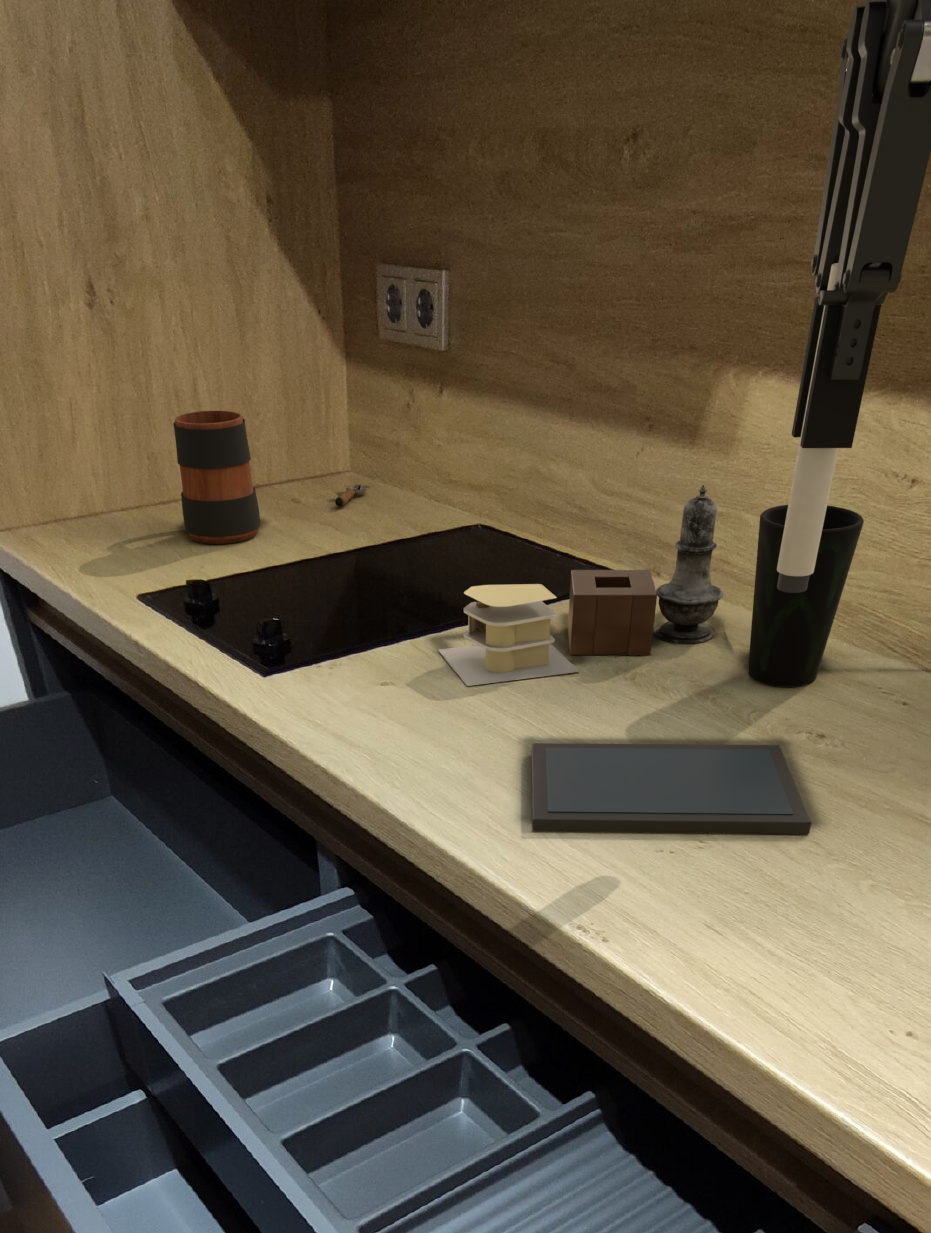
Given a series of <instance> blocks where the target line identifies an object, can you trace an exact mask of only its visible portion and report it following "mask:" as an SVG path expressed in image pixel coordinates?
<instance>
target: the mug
mask: <svg viewBox="0 0 931 1233" xmlns="http://www.w3.org/2000/svg"><path fill="white" fill-rule="evenodd" d="M172 426H173V431H174V439H175V440H174V441H175V448H176V460H177V465H179V472H180V480H181V487H182V491H181V493H180V498H181V499H180V500H181V509H182V517H183V524H184V530H185V532H186V533H187V534H188V535H189V537H190V539H191V540H193V541H195V542H196V543H200V544H206V545H229V544H237V543H241V542H245V541H248V540H250V539H253V538H255V537H256V536H257V534H258V532H259V528H260V527H261V515H260V507H259V502H258V496H257V490H256V488H255V487H254V485H253V484H254V483H253V478H252V470H251V464H250V461H251V459H252V457H251V451H250V446H249V441H248V434H247V427H246V426H247V425H246V420H245V419H244V418H243V415H242V413H239V412H236V411H231V410H199V411H192V412H186V413H183V414H180V415H178V416H176V417H175V418H174V422H173V425H172Z"/></svg>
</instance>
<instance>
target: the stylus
mask: <svg viewBox="0 0 931 1233" xmlns="http://www.w3.org/2000/svg"><path fill="white" fill-rule="evenodd" d="M838 264H839V263H834V264H832V266H831V271H830V277H829V283H828V288H827V290H833V287H834V285H835V282H836V276H837V270H838ZM824 310H825V305H824ZM824 310H823V316H824ZM823 316H822V321H823ZM822 321H821V327H822ZM821 327H820V332H821ZM820 332H819V338H820ZM819 338H818V343H819ZM817 349H818V344H817ZM817 349H816V355H817ZM816 355H815V360H816ZM815 360H814V366H815ZM814 366H813V371H814ZM813 371H812V377H813ZM812 377H811V382H812ZM811 382H810V388H811ZM810 388H809V393H810ZM809 393H808V399H809ZM808 399H807V404H808ZM806 410H807V405H806ZM806 410H805V415H806ZM804 421H805V416H804ZM804 421H803V427H804ZM803 427H802V432H803ZM802 432H801V437H799V438H800V439H799V443H798V450H797V454H796V455H797V456H796V460H795V466H794V471H793V477H792V483H791V489H790V492H789V499H788V504H787V505H788V510H787V515H786V521H785V527H784V532H783V538H782V543H781V549H780V554H779V560H778V565H777V571H778V572H779V578H778V584H777V588H778V589H779V590H780V591H783V592H788V593H800V592H804V591H806V590H807V586H808V581H809V576H810V575H811V574H812V573H813V572H814V568H815V563H816V558H817V553H818V548H819V543H820V538H821V533H822V528H823V523H824V518H825V513H826V508H827V505H828V503H829V497H830V493H831V489H832V484H833V478H834V474H835V468H836V463H837V460H838V459H837V458H838V455H839V454H838V453H839V450H840V448H802V447H801V446H800V443H801V438H802Z"/></svg>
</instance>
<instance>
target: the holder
mask: <svg viewBox="0 0 931 1233" xmlns="http://www.w3.org/2000/svg"><path fill="white" fill-rule="evenodd" d="M569 582H570V584H569V600H568V616H567V617H568V618H567V635H568V647H569V655H571V656H589V655H590V656H651V654H652V645H653V638H654V628H655V627H654V626H655V618H656V610H657V609H656V608H657V602H658V601H657V599H658V596H657V593H656V590H657V589H656V586H655V582H654V578H653V575H652V572H651V569H571V571H570V581H569Z"/></svg>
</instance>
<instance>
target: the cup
mask: <svg viewBox="0 0 931 1233" xmlns="http://www.w3.org/2000/svg"><path fill="white" fill-rule="evenodd" d="M787 510H788V504H782V505H777V506H776V505H775V506H773V507H769V508H767V509H765V510H764V511H762V512H761V513H760V514H759V525H758V526H759V527H758V536H757V537H758V539H757V552H756V564H755V576H754V577H755V578H754V590H753V601H752V612H751V613H752V614H751V627H750V640H749V652H748V665H747V675H748V677H749V678H750V679H751V680H753V681H754V682H757V683H759V684H761V685H762V684H763V685H766V686H771V687H776V688H777V687H778V688H799V687H805V686H808V685H811V684H812V683H814V682H815V681H816V679H817V676H818V672H819V670H820V667H821V663H822V659H823V656H824V653H825V651H826V646H827V644H828V641H829V637H830V634H831V630H832V628H833V624H834V620H835V617H836V614H837V612H838V608H839V604H840V602H841V597H842V595H843V591H844V588H845V585H846V582H847V579H848V576H849V571H850V568H851V565H852V563H853V562H852V561H853V559H854V556H855V552H856V549H857V545H858V542H859V539H860V536H861V532H862V529H863V526H864V523H865V520H864V517H863V516H862V515H861V514H860V513H858V512H856V511H853V510H852V509H847V508H844V507H840V506H834V505H828V504H827V508H826V513H825V518H824V523H823V528H822V533H821V538H820V543H819V548H818V553H817V558H816V563H815V568H814V572H813V573H812V574H811V575H810V576H809V581H808V586H807V590H806V591H804V592H800V593H788V592H783V591H780V590H779V589H778V588H777V584H778V578H779V572H778V571H777V565H778V560H779V554H780V549H781V543H782V538H783V532H784V527H785V521H786V515H787Z"/></svg>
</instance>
